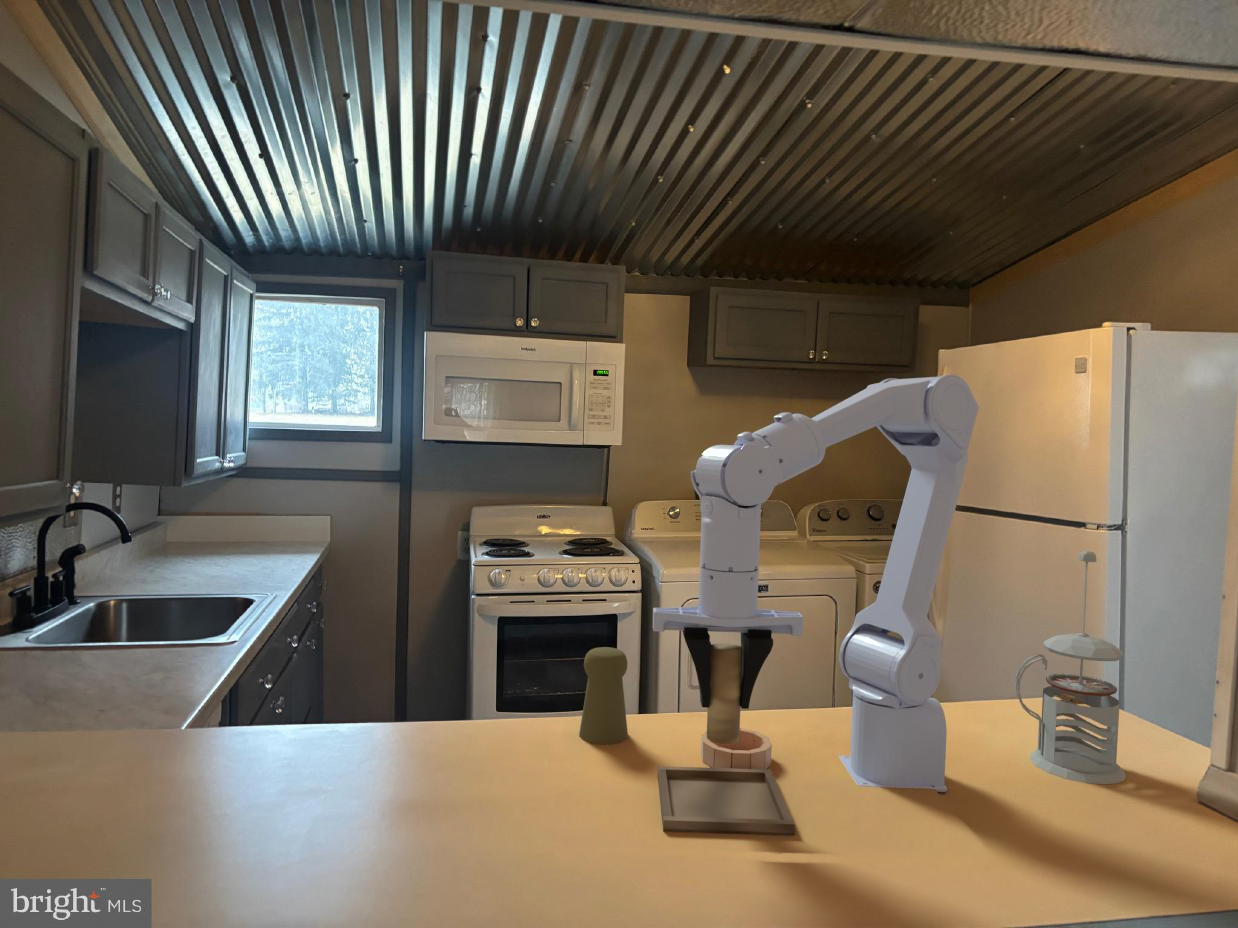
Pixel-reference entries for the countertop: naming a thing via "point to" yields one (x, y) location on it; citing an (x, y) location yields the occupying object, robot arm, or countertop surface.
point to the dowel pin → (724, 693)
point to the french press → (1078, 710)
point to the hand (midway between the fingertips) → (724, 704)
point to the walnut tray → (722, 801)
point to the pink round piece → (738, 751)
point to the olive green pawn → (604, 697)
